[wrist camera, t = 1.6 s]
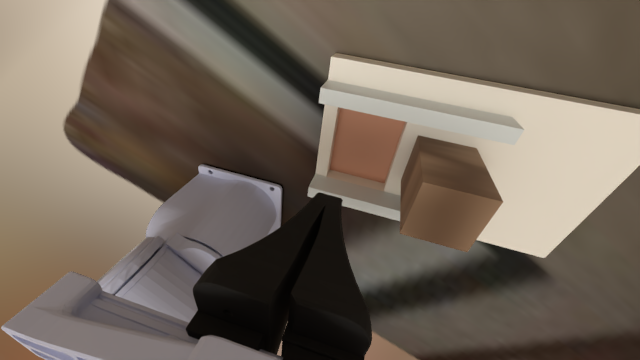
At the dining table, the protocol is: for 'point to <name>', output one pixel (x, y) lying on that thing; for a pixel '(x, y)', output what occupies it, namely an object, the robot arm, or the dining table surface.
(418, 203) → the walnut block
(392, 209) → the channel
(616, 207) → the dining table surface
